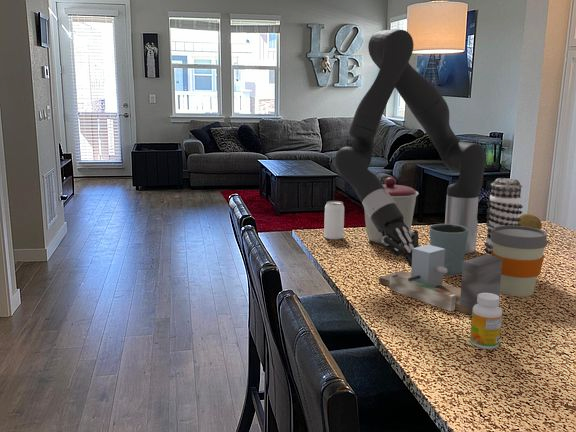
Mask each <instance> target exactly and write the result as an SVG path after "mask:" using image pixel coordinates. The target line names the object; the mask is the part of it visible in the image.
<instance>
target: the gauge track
mask: <svg viewBox="0 0 576 432" xmlns="http://www.w3.org/2000/svg"><path fill="white" fill-rule="evenodd" d="M502 259H503V258H499V257H495V256H491V255H487V254H486V255H484V254H483V255H481V256H476V257H473V258H470V259H467V260H464V261H463V270H462V273H461V285H460V288H459V287H455V286H453V285H450V284H447V283H444V282H443V285H439V286H436V287H433V286H430V285H426V284H423V283H418V282H415V281H408V278H411V272H408V271H405V270H399V271H396V272H393V273H389V274H386V275H382V276H379V277H378V279H379V280H378V283H379V284H380V285H381V284H382V285H385V286H387V287H388V288H389V291H392V292H394V293H395V292H396V293H398V294H401V295H404V296H406V297H409V298H412V299H415V300H418V301H420V302H423V303H426V304H429V305H432V306H435V307H438V308H440V309H443V310H446V311H449V312H453V311H455V310H456V311H459V312H462V313H464V314H466V315H469V316H472V310H473V307H474V305H476V304H478V303H477V296H478V294H479V293H492V294H496V295H498V296H499V297H500V281H501V270H502Z"/></svg>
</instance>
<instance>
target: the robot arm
mask: <svg viewBox="0 0 576 432" xmlns="http://www.w3.org/2000/svg"><path fill="white" fill-rule="evenodd" d="M413 51H414V39H413V37H412V35H411V34H410V33H409V32H408V31H407V30H405V29H400V28H399V29H398V28H396V29H384V30H380V31H376V32H375V33H373V34H372V35H371V36H370V38H369V41H368V53H369V56H370V58H371V60H372V62H373V63H374V64H375V65H376V66H377V67H378V69H379V71H378V73H377V75H376V78H375V79H374V81H373V83H372V85H371V86H370V88H369V89H368V90H367V92H366V93H365V94H364V96H363V97H362V99H361V101H360V102H359V104H358V105H357V108H356V110H355V113H354V116H353V119H352V122H351V125H350V128H349V130H348V131H349V135H350V137H351V139H352V143H351V146H344V147H340V149H339V150H337V151H336V153H335V157H334V164H335V166H336V170H337V171H338V173H339V174H340V175H341V176H342V178H343V179H345V181H346V183H348V185H349V186H351V188H352V189H353V190H354V192H355V193H356V196H357V197H358V199H359V200H360V202H361V204H362V206H363V209H364V208H365V210H366V212H367V214H368V216H369V217H370V219H371V221H372V222H373V224H374V226H375V227H376V229H377V231H378V232H380V233H382V236H383V239H382V241H381V242H380V244H379V245H380V247H383V248H384V249H385V250H387V251H389V252H390V253H391V254H393V255H394V256H396V257H402V258H404V259H405V261H406V262H407V264H408V266H409V267H410V269H411V268H412V250H413V248H416V247H420V245H419V242H420V241H419V231H418V230H416V229H414V231H413V230H409V228H408V227H407V226H406V225H405V224H404V222H403V219H404V217H403V215H402V213H401V212H400V210H399V208H398V207H397V205H396V204H395V202H394V201H393V199H392V197H391V196H390V195H389V193H388V192H387V191H386V190H385V188H384V187H383V185H382V184H383V183H382V182H381V180H380V179H379V178H378V176H377V175H376V174H374V173H373V172H372V171H370V170H369V167H370V165H371V162H372V157H373V152H374V151H373V150H374V142H375V141H374V140H375V136H376V134H377V132H378V128H379V126H380V123H381V120H382V117H383V115H384V111H385V109H386V106H387V105H388V103H389V100H390V98H391V96H392V95H393V92H394V90H395V89H396V91H397V93H398V94H399V95H400V97H401V99H402V100H403V101H404V102H405V104H406V106H407V107H408V109H409V110H410V112H411V113H412V115H413V117H414V118H415V119H416V120H417V122H418V123H419V124H420V126H421V127H422V129H423V130H424V132H425V133H426V135H427V136H428V137H429V139H430V140H431V142H432V144H433V145H434V147H435V149H436V151H437V152H438V155H439V156H440V158H441V160H442V162H443V164H444V165H445V167H446V168H447V169H448V170H450V171H452V172H453V173H454V172H455V173H459V176H458V180H457V181H456V182H454V183H451V184H449V185H448V186H447V189H446V201H445V219H444V224H455V225H460V226H464V227H466V228H468V229H469V231H468V237H467V242H466V249H465V255H469V254H473V253H474V252H475V250H477V235H478V226H479V225H478V223H479V221H478V207H479V196H480V195H479V194H480V190H481V188H482V186H483V183H484V182H483V181H484V174H485V173H484V172H485V165H486V153H485V149H484V147H483V146H482V145H481V144H479V143H477V142H476V143H475V142H466V141H462V140H461V139H459V138H458V136H456V134H455V132H454V131H453V130H452V128H451V126H450V109H449V106H448V103H447V102H446V100H445V99H444V97H443V95H442V94H441V92H440V91H439V90H438V88H437V86H435V85H434V84H433V83H432V82H431V81H429V79H427V78H426V77H425V76H423V75H422V73H419V72H418V71H417V70H416V69H415V68H414V67H413V66H412V65H411V64H410V62H409V61H410V60H411V57H412V54H413V53H414V52H413ZM365 210H364V211H365Z"/></svg>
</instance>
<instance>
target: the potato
mask: <svg viewBox="0 0 576 432" xmlns="http://www.w3.org/2000/svg"><path fill="white" fill-rule="evenodd" d="M518 217H519V218H520V219H521V221H519V222H518V223H519V224H520V226H524V227H531V228H536V229H539V230H542V227H543V224H542V221H541V219H539V217H538V216H536V215H534V214H530V213H525V214H523V213H522V214H520V215H519V216H518Z"/></svg>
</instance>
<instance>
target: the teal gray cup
mask: <svg viewBox="0 0 576 432" xmlns="http://www.w3.org/2000/svg"><path fill="white" fill-rule="evenodd" d="M468 231H469V229H468V228H466V227H464V226H460V225H455V224H445V223H436V224H432V225H430V226H429V240H430V241H429V242H430V243H429V245H432V246H436V247H440V248H444V249H445V259H444V268H447V270H448V272H447V273H446V274H444V273H443V276H444V275H445V276H446V275H447V276H455V275H460V274H462V270H463V261H465V256H466V254H465V249H466V242H467V237H468Z"/></svg>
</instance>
